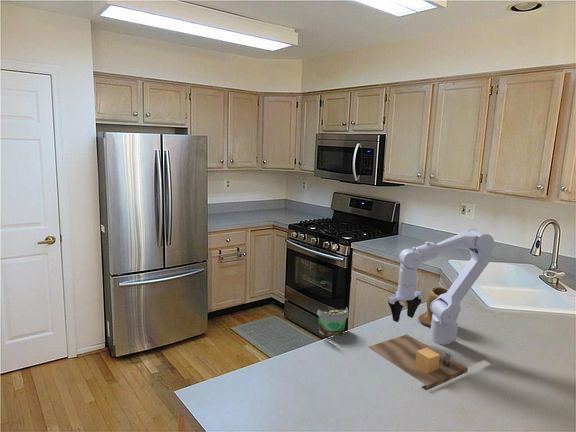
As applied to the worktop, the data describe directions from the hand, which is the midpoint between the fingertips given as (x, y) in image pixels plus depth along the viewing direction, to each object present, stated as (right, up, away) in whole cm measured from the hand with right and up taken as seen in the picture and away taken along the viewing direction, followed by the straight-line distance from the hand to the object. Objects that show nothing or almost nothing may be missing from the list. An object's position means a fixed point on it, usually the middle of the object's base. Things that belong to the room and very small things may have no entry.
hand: (403, 318), depth 140 cm
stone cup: (+20, -7, +20) cm, 29 cm away
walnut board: (+1, -11, -10) cm, 15 cm away
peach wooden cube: (+3, -11, -16) cm, 20 cm away
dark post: (+10, -13, -14) cm, 21 cm away
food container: (-25, -8, +4) cm, 26 cm away
